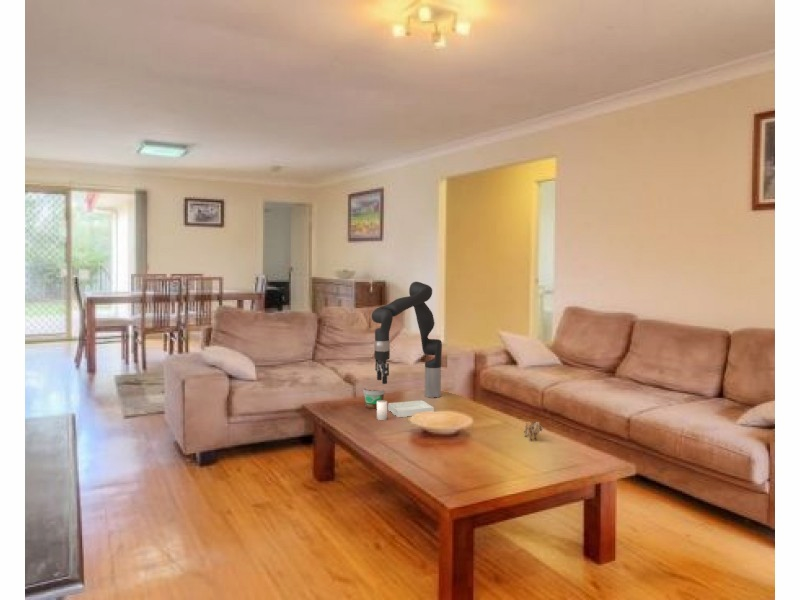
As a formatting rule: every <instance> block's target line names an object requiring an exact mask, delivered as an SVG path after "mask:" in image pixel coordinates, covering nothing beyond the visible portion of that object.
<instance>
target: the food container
mask: <svg viewBox="0 0 800 600" xmlns="http://www.w3.org/2000/svg"><path fill="white" fill-rule="evenodd" d="M362 394H363V395H364V402H365V403H364V405H365V408H366V410H370V409H377V401H378V400H384V399H385V398H384V397H385V394H386V391H385V389H382V390H377V389H366V387H364V388H363V390H362Z"/></svg>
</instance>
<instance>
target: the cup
mask: <svg viewBox="0 0 800 600" xmlns="http://www.w3.org/2000/svg"><path fill="white" fill-rule="evenodd" d="M377 419H378V420H377ZM386 419H387V420H388V401H387V400H385V399H383V400H378V401H377V410H376V420H377V421H379V420H384V421H387V420H386Z"/></svg>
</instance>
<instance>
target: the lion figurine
mask: <svg viewBox="0 0 800 600" xmlns="http://www.w3.org/2000/svg"><path fill="white" fill-rule="evenodd" d="M543 430H544V427H543V426H542V425H541V424H540V421H534V422H532V421H527V422H526V423H525V430H524V431H523V433H524V437H525V438H527V437H528V435H529V442H532V441H533V440H534V441H536V442H537V441H538V439H537V436H538V434H540V432H542V431H543ZM532 436H533V437H532Z"/></svg>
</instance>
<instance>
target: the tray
mask: <svg viewBox="0 0 800 600" xmlns="http://www.w3.org/2000/svg"><path fill="white" fill-rule="evenodd" d="M387 411H389V412H390V411H391V412H392V413H391V412H390V413H391V414H392V415H393V416H395V415H396V416H397V417H403V418H408V417H407V416H411V415H413V414H415V413H419V412H425V411H434V412H435V407H434V406H432V404H431V405H430V404H429V403H428V402H426V401H424V400H422V399H420V400H411V401H400V402H387ZM396 416H395V417H396ZM397 417H396V418H397Z"/></svg>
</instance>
